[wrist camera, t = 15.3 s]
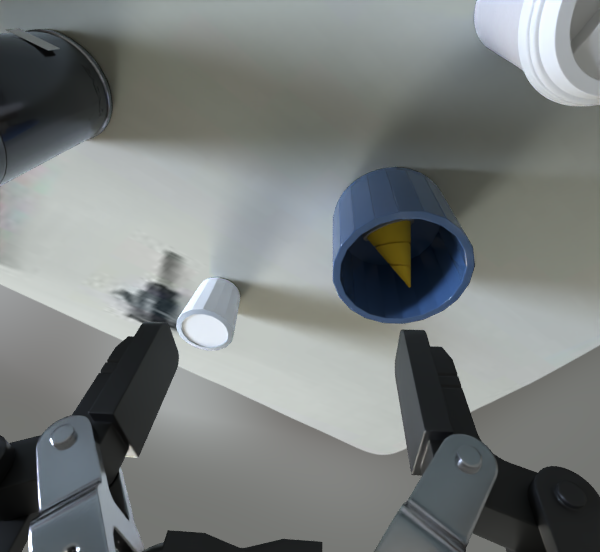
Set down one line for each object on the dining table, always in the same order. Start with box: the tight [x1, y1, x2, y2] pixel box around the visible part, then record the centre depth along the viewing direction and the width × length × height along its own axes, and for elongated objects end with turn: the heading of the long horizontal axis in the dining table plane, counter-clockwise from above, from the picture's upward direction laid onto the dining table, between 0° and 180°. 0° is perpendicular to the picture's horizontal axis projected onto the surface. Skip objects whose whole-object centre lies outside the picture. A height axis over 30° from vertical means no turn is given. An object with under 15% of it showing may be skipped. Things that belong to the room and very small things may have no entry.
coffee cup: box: [474, 0, 600, 106], centre depth 23 cm, size 10×10×15 cm
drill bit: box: [362, 219, 414, 288], centre depth 37 cm, size 5×5×10 cm
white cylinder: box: [176, 277, 240, 350], centre depth 46 cm, size 7×7×7 cm
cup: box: [333, 167, 475, 324], centre depth 36 cm, size 12×12×10 cm
